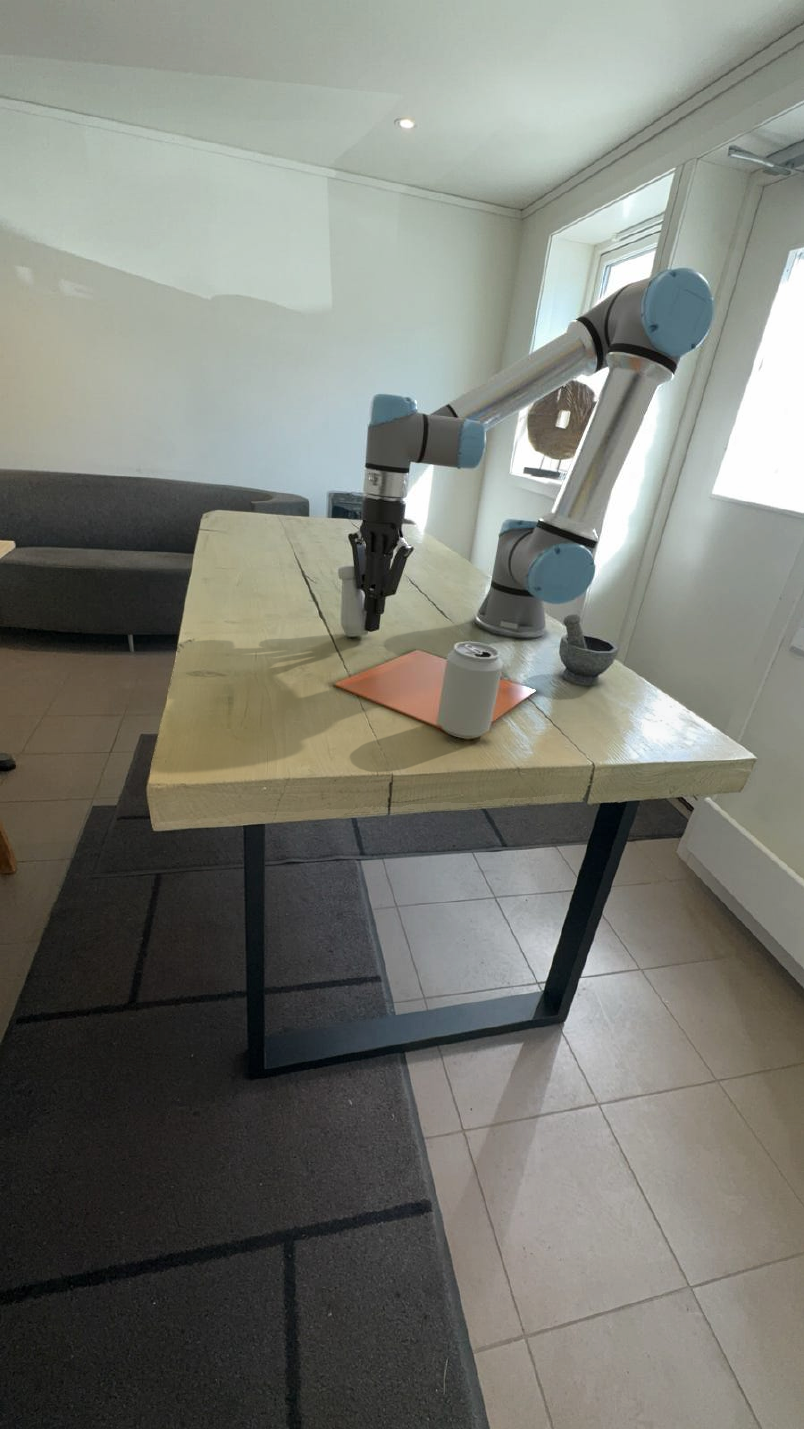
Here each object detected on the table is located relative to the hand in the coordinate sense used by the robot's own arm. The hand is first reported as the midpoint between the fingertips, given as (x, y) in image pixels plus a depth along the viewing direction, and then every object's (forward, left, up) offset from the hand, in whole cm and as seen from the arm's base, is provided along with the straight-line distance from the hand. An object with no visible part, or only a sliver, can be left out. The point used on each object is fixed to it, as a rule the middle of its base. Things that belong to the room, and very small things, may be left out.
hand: (372, 629), depth 110 cm
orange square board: (+9, +21, -3) cm, 23 cm away
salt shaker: (0, -3, -2) cm, 4 cm away
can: (+19, +31, -2) cm, 36 cm away
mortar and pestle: (-15, +36, -3) cm, 39 cm away
